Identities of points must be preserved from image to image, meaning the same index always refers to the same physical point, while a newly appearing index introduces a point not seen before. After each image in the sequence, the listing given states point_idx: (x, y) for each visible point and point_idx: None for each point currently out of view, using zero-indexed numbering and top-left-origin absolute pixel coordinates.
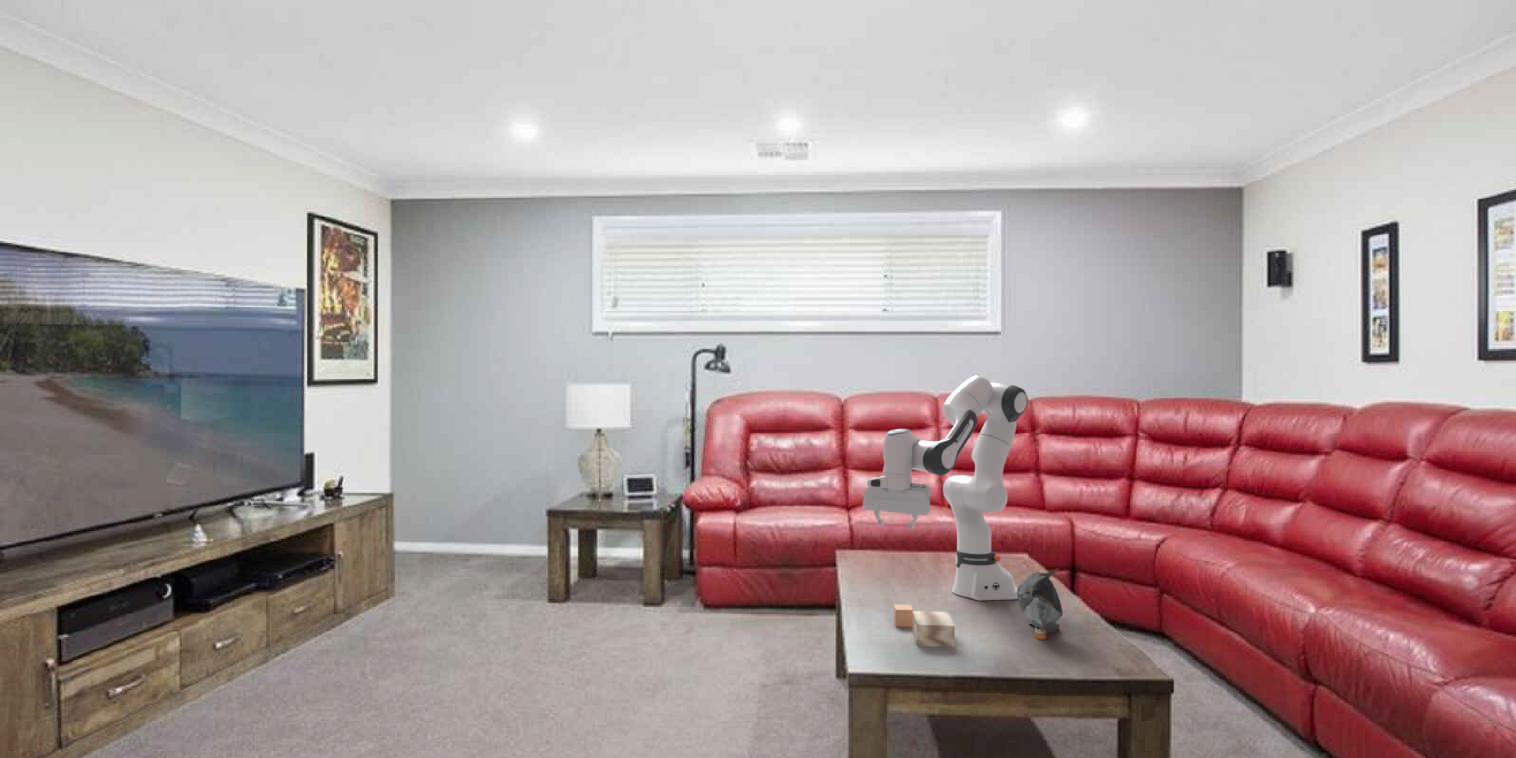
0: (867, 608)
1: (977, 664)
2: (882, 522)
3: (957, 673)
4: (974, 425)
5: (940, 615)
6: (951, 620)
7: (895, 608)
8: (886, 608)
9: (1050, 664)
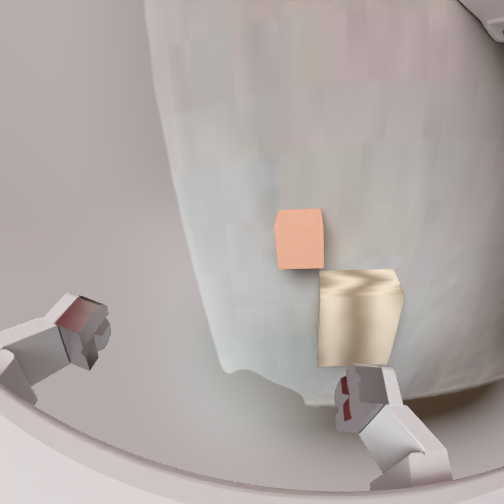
0: (203, 123)
1: None
2: (96, 349)
3: None
4: None
5: (380, 318)
6: (392, 340)
7: (278, 260)
8: (255, 111)
9: (477, 362)
